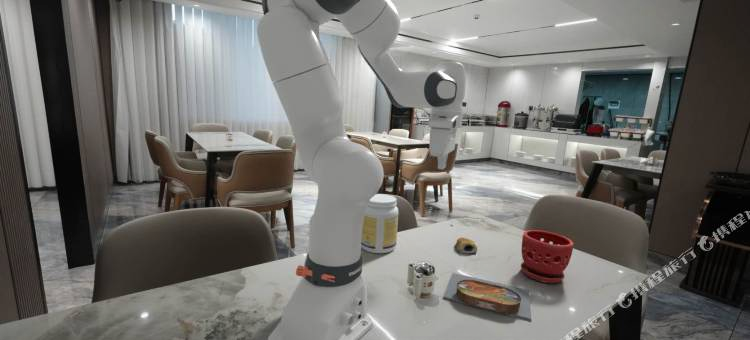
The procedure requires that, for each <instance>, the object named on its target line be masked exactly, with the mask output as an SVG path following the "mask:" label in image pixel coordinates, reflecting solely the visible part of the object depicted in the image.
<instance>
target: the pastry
mask: <svg viewBox="0 0 750 340" xmlns="http://www.w3.org/2000/svg"><path fill="white" fill-rule="evenodd" d="M455 246H456V248H457V251H458V252H459V253H461V254H475V253H476V252H477V251H478V246H477V244H476V243H475V241H474V240H472V239H470V238H465V237H459V238H457V240H456V243H455Z"/></svg>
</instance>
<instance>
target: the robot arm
mask: <svg viewBox="0 0 750 340" xmlns="http://www.w3.org/2000/svg"><path fill="white" fill-rule="evenodd" d="M261 7H262V11H263V16H262V17H261V18H260V20H259V21H258V23H257V26H256V34H257V40H258V43H259V48H260V52H261V55H262V58H263V61H264V65H265V67H266V71H267V72H268V75H269V77H270V80H271V82H272V86H273V87H274V89H275V92H276V94H277V97H278V99H279V100H280V101H279V102H280V104H281V106H282V108H283V111H284V112H285V115H286V117H287V120H288V122H289V126H290V128H291V132H292V135H293V139H294V143H295V146H296V149H297V152H298V155H299V158H300V161H301V165H302V167H303V170H304V172H305V174H306V176H307V177H308V178H309V179H310V180H311V181H312V182H314V184H316V185H317V199H316V204H315V208H314V211H313V214H312V215H311V216H310V219H309V222H308V223H309V224H308V227H309V229H308V253H307V254H306V258H305V261H304V265H298V266H297V267H296V269H295V275H296V276H298V277H301V279H300V281H299V282H298V284H297V285H296V287H295V289H294V290H293V292H292V294H291V296H290V298H289V300H288V302H287V303H286V305H285V307H284V308H283V310H282V315H281V320H280V321H279V323H278V324H277V325H276V326H275V328H274V329H273V330H272V332H271V333H270V335H269V336H268V338H267V340H360V338H362V336H364V335H365V334H366V333H367V332H369V330H370V329H372V328H373V319H372V318H371V316H369V315H368V289H367V285H366V284H365V282H364V279H363V277H362V275H361V274H362V272H363V265H364V261H363V254H362V253H361V252H362V247H361V241H362V227H363V220H364V216H365V212H366V209H367V206H368V203H369V201H370V199H371V198H372V197H373V196H374V195H375V194H378V192H379V191H380V188H381V187H382V185H383V181H384V177H385V176H384V175H385V173H384V167H383V164H382V161H381V159H379V158H378V156H377V155H375V153H374V152H373V151H371V150H370V149H369V148H368V147H367V146H364V145H363V144H361V143H358V142H354V141H351V140H350V139H349V136H348V135H347V132H346V127H345V121H344V108H345V107H344V106H345V105H344V104H345V103H344V102H345V101H344V99H343V96H342V93H341V89H340V87H339V84H338V82H337V80H336V76H335V74H334V71H333V68H332V66H331V63H330V60H329V58H328V55H327V53H326V50H325V48H324V46H323V43H322V41H321V38H320V26H321V25H324V24H326V23H328V22H329V21H331V20H333V19H335V18H336V19H338V21H339V22H340V23H341V25H342V26H343V27H344V29H346V31H347V32H348V33H349V34H350V35H351V36H352V38H353V39H354V40H355V42H356V43H357V47H358V50H359V52H360V55H361V56H362V58H363V59H364V61H365V63H366V65H368V67H369V68H370V69H371V71H372V72H373V74H374V75H375V76H376V77H377V79H378V80H379V82H380V83H381V84H382V86H383V88H384V90H385V93H386V95H387V97H388V99H389V101H390V103H391V104H392V105H393V106H394V107H396V108H399V109H409V108H415V109H416V108H417V109H419V108H421V109H431V110H430V117H429V119H428V128H429V129H430V130H429V148H428V149H429V155H430V157H435V158H436V157H437V169H438V170H444V169H445V168H447V160H448V157H449V154H450V153H451V152H453V151H454V150H455V148H456V140H457V129H461V128H462V123H463V114H464V106H463V101H464V98H465V97H466V96H465V95H466V84H467V82H466V80H467V79H466V78H467V76H466V74H467V73H466V68H465V66H464V65H463V64H462V63H461V62H459V61H456V60H455V61H454V60H449V59H447V60H441V61H439V62H437V64H436V66H434V67H432V68H431V69H427V70H423V71H422V70H421V71H407V70H403V69H401V68H399V66H398V64H397V63H396V61H395V60H394V58H393V57H392V56H391V53H390V52H389V49H390V48H391V47H392V46H393V44H394V42H395V41H396V39H397V37H398V35H399V33H400V30H401V17H400V15H399V12H398V10H397V8H396V5H395V4H394V3H393V2H392V1H391V0H261Z"/></svg>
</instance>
